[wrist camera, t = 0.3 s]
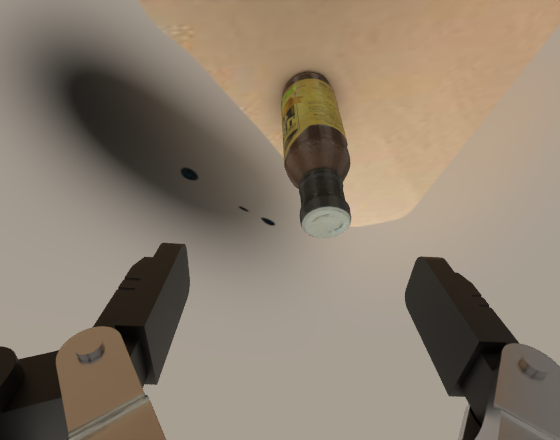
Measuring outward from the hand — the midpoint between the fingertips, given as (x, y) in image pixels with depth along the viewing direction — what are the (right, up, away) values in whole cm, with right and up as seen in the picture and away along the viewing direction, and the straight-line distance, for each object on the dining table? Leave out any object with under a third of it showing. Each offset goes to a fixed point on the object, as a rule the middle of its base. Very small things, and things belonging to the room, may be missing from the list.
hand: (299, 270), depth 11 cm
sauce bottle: (+3, +17, +27) cm, 32 cm away
